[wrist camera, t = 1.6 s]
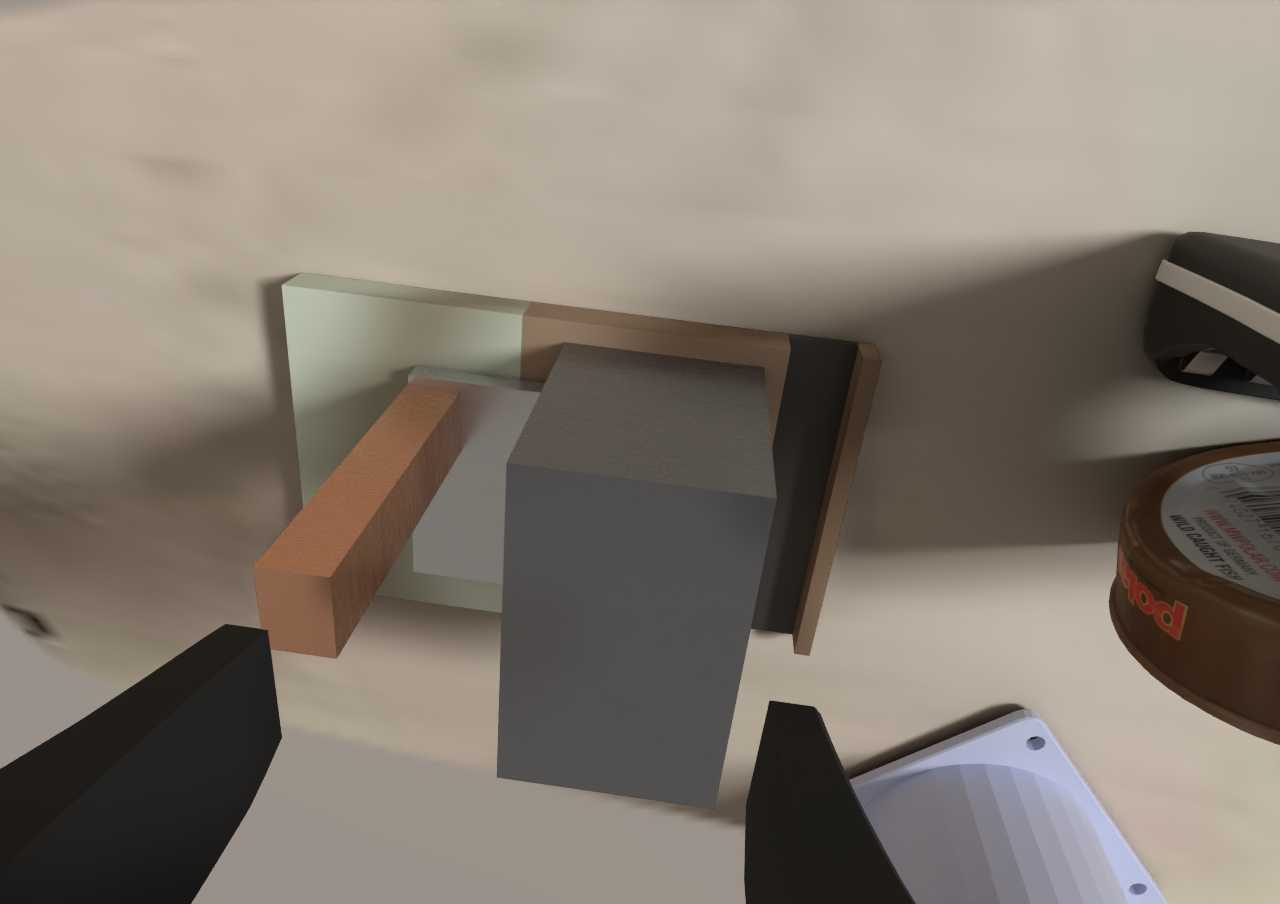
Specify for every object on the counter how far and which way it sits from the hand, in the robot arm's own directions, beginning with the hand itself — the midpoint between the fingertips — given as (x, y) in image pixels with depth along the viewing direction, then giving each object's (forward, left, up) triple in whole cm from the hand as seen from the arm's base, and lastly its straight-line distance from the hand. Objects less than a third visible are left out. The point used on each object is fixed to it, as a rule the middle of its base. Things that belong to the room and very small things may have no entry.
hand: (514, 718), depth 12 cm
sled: (-1, +2, -9) cm, 9 cm away
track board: (-1, +2, -10) cm, 11 cm away
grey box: (-2, 0, -9) cm, 10 cm away
